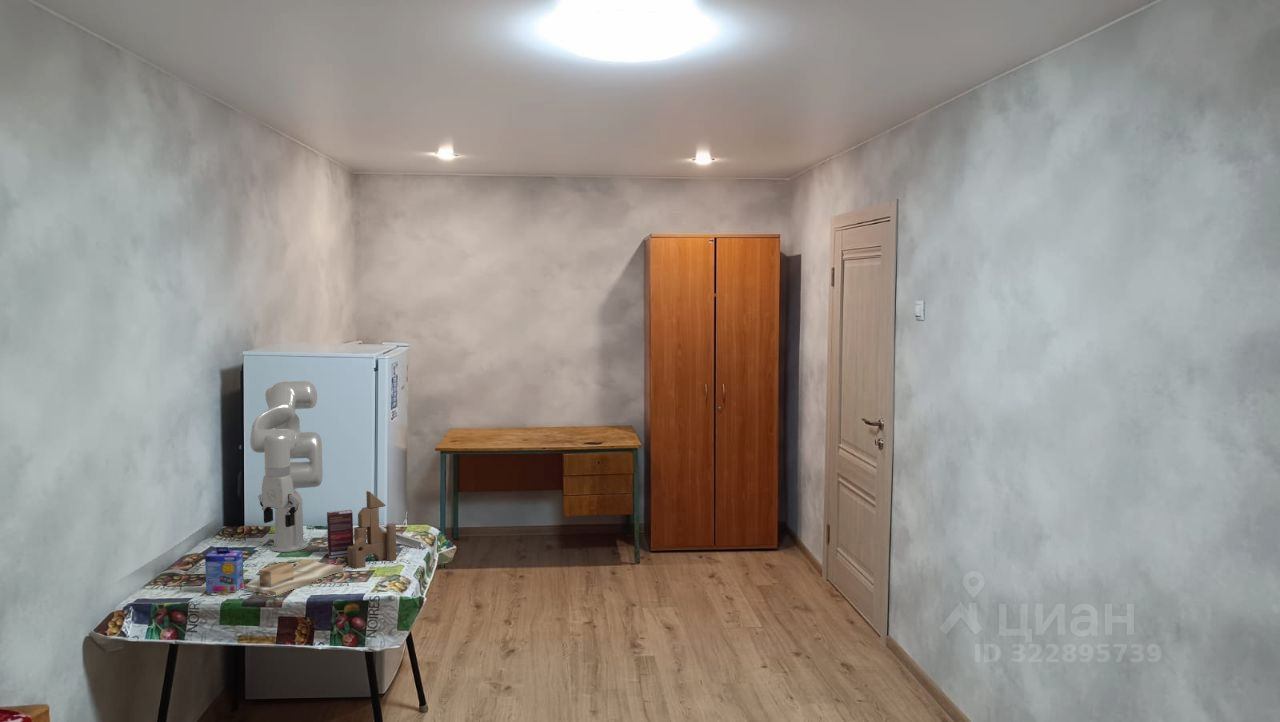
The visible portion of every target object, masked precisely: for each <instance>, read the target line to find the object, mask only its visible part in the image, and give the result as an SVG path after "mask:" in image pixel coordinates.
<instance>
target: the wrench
mask: <svg viewBox="0 0 1280 722" xmlns="http://www.w3.org/2000/svg"><path fill="white" fill-rule="evenodd" d="M379 528H380V530H381V531H382V532H386V527H384V526H383V525H382V524H380V523H379ZM366 535H367V532H366ZM396 543H400V544H403V545H406V546H409V547H411V548H414V547H416V548H415V549H417V548H420V549H419V550H424V549H426V548H427V543H426V542H425V541H424V540H421V539H419V538H415V537H412V536H409V535H405V534H403V533H399V532H396ZM421 544H422V545H421Z"/></svg>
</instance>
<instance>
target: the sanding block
mask: <svg viewBox="0 0 1280 722" xmlns="http://www.w3.org/2000/svg"><path fill="white" fill-rule="evenodd" d="M294 565H295V564H294V563H290V562H283V561H281V562H278V563H276V564H272V565H269V566H266V567H264V568H261V569H259V575H258V576H259V580H260V585H261V586H266V587H270V588H272V587H274V586H277V585H280V584H282V583H285V582H288V581H291V580H293V579H294V568H295V567H294Z"/></svg>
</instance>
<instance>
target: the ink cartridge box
mask: <svg viewBox="0 0 1280 722" xmlns="http://www.w3.org/2000/svg"><path fill="white" fill-rule="evenodd" d="M243 554H244V553H243V550H230V549H229V547H228V546H215V550H211V551H209V552H208V553H207V554H205V555H204V561H205V562H204V563H205V564H204V565H205V593H206V594H215V593H214V592H236V591H239V590H240V589H241V588H242V589H244V588H243V587H244V585H245V582H244V557H243ZM242 589H241V590H242ZM241 590H240V591H241ZM240 591H239V592H240Z"/></svg>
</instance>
